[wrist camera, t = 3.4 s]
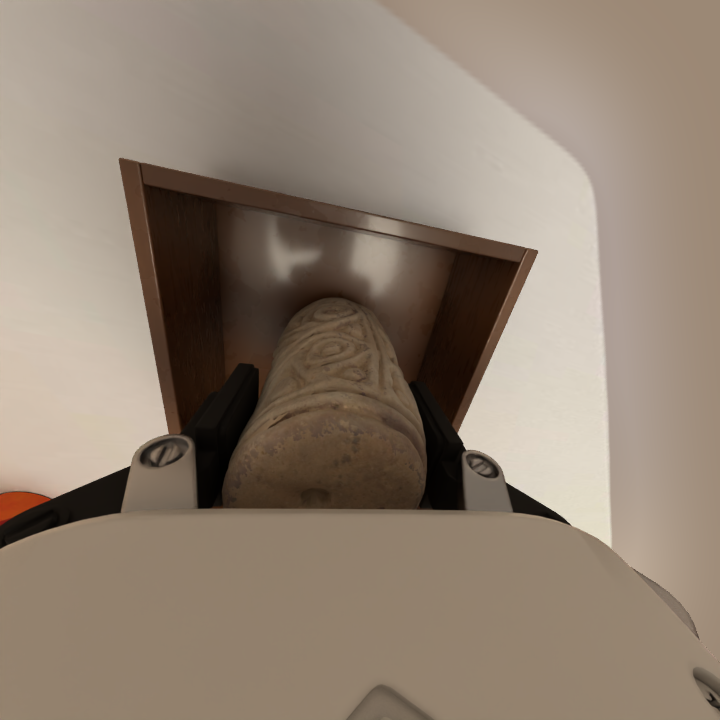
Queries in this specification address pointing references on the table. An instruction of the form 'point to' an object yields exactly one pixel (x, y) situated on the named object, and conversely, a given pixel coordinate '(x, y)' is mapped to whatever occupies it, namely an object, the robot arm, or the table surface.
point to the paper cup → (18, 504)
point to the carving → (331, 421)
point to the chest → (307, 284)
